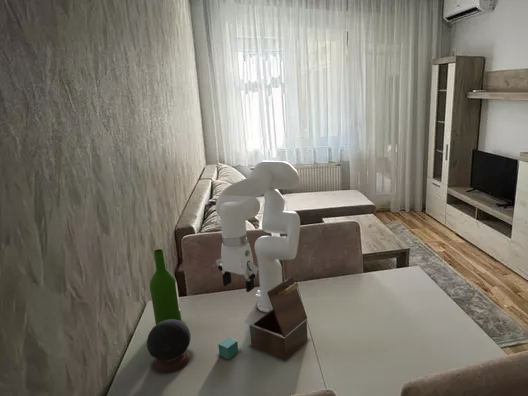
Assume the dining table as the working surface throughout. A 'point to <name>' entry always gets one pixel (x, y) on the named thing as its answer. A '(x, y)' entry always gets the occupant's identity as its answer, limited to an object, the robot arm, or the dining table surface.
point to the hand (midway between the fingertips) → (238, 287)
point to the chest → (276, 336)
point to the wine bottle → (164, 291)
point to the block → (228, 348)
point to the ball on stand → (169, 345)
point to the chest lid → (287, 305)
